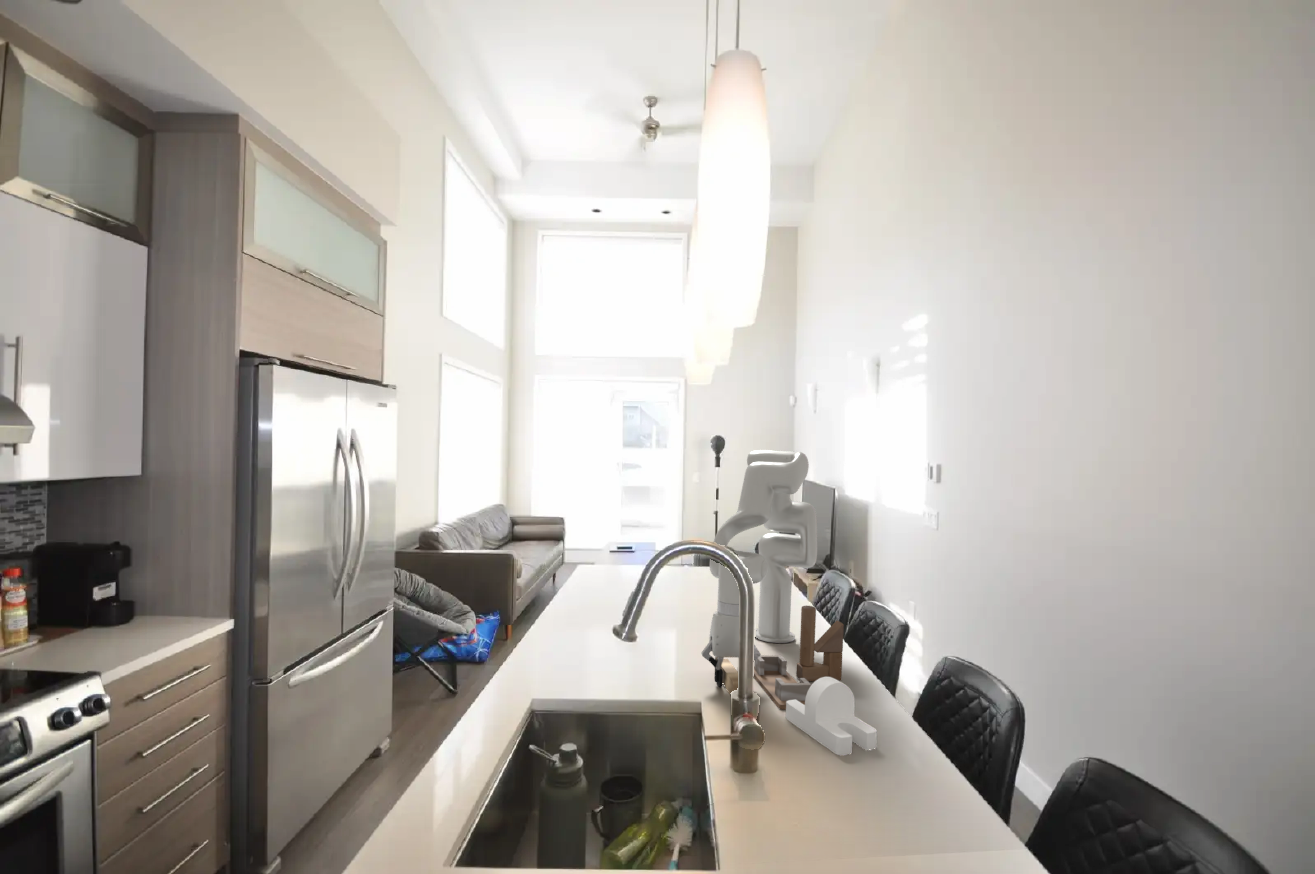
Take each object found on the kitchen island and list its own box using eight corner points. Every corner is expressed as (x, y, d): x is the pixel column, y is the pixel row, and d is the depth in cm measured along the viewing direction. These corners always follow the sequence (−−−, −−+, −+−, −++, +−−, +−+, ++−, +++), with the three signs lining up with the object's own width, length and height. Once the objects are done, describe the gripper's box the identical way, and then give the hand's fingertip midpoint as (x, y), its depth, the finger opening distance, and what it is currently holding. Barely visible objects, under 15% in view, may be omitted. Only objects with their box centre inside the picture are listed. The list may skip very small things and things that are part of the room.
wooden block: (841, 681, 156) (844, 608, 156) (801, 682, 153) (804, 609, 154) (834, 675, 159) (837, 605, 160) (795, 677, 157) (798, 605, 157)
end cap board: (747, 670, 160) (748, 652, 160) (781, 670, 161) (782, 652, 162) (779, 709, 136) (780, 688, 137) (818, 708, 138) (819, 688, 138)
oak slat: (715, 674, 157) (716, 658, 157) (726, 674, 157) (727, 658, 157) (732, 700, 141) (733, 682, 141) (745, 700, 141) (746, 682, 142)
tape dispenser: (838, 757, 116) (840, 699, 116) (783, 718, 133) (785, 667, 133) (878, 750, 120) (880, 693, 120) (820, 712, 137) (821, 662, 137)
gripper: (762, 604, 155) (759, 678, 154) (695, 604, 152) (692, 679, 152) (772, 612, 147) (768, 690, 147) (701, 612, 145) (698, 691, 144)
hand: (729, 684), depth 149 cm, fingers open, 4 cm apart
